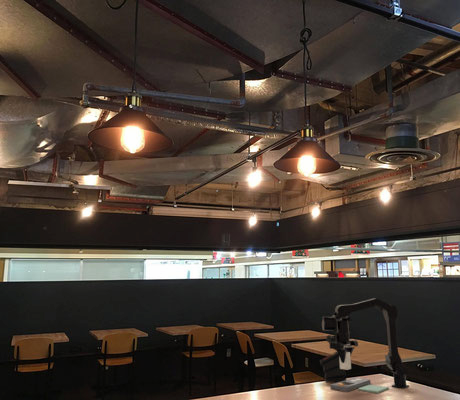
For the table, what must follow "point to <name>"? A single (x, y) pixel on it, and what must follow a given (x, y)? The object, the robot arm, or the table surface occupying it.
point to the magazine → (333, 368)
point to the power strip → (350, 384)
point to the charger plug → (346, 362)
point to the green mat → (373, 388)
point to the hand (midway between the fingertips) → (345, 362)
